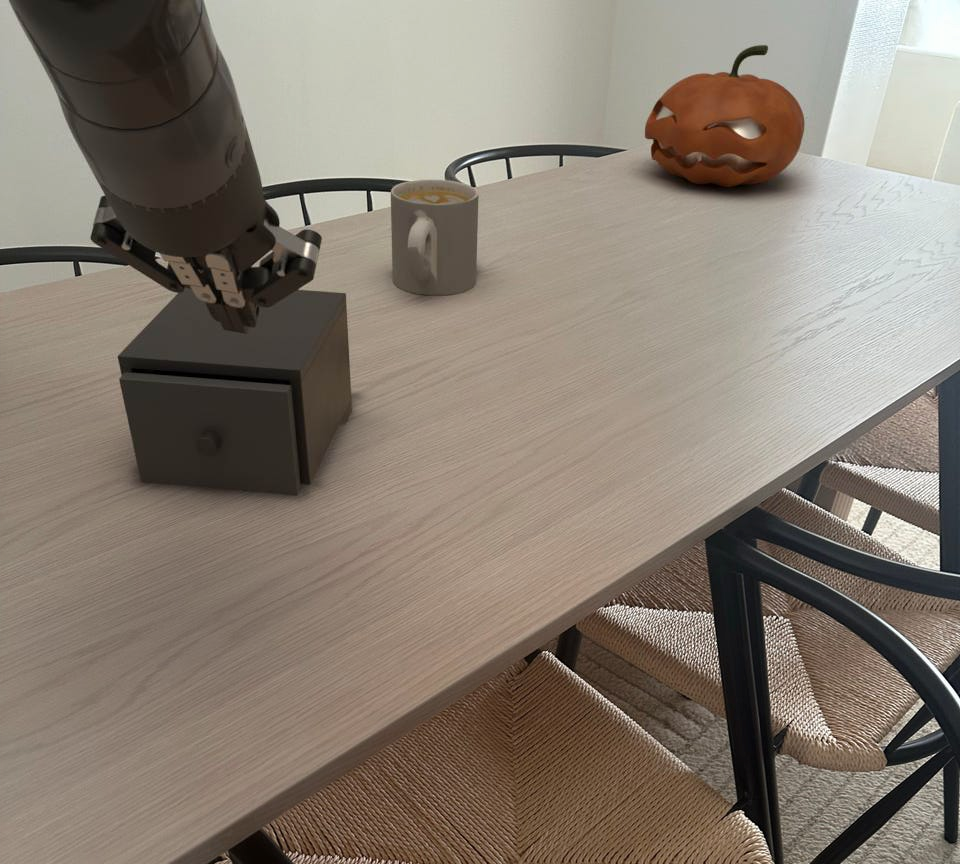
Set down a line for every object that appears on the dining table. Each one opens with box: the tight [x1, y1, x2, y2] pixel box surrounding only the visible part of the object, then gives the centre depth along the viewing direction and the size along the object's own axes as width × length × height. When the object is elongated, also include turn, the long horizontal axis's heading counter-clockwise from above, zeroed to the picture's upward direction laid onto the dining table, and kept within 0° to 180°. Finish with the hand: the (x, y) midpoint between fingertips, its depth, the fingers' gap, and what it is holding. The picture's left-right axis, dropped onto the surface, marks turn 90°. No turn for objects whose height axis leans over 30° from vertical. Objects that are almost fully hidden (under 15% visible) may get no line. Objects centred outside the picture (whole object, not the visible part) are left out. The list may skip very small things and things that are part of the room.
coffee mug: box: [390, 179, 480, 297], centre depth 113 cm, size 13×10×10 cm
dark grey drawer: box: [118, 369, 302, 496], centre depth 80 cm, size 16×13×9 cm
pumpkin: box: [644, 44, 806, 188], centre depth 151 cm, size 25×25×19 cm
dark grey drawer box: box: [117, 287, 353, 486], centre depth 82 cm, size 16×14×11 cm
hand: (239, 318), depth 63 cm, fingers closed
